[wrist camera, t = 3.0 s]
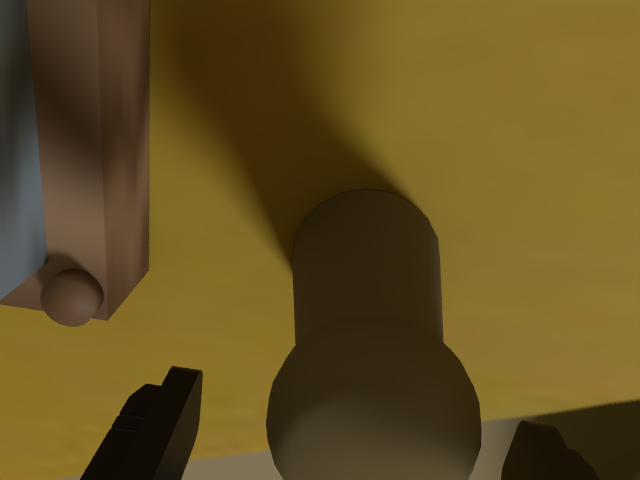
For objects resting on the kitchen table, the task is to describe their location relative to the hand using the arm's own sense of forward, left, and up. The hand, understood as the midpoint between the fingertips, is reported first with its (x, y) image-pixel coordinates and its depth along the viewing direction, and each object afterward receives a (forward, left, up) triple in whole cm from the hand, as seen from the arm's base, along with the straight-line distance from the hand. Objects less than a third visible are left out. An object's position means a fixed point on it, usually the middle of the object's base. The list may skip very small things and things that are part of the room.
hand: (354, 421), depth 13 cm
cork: (0, 0, -9) cm, 9 cm away
